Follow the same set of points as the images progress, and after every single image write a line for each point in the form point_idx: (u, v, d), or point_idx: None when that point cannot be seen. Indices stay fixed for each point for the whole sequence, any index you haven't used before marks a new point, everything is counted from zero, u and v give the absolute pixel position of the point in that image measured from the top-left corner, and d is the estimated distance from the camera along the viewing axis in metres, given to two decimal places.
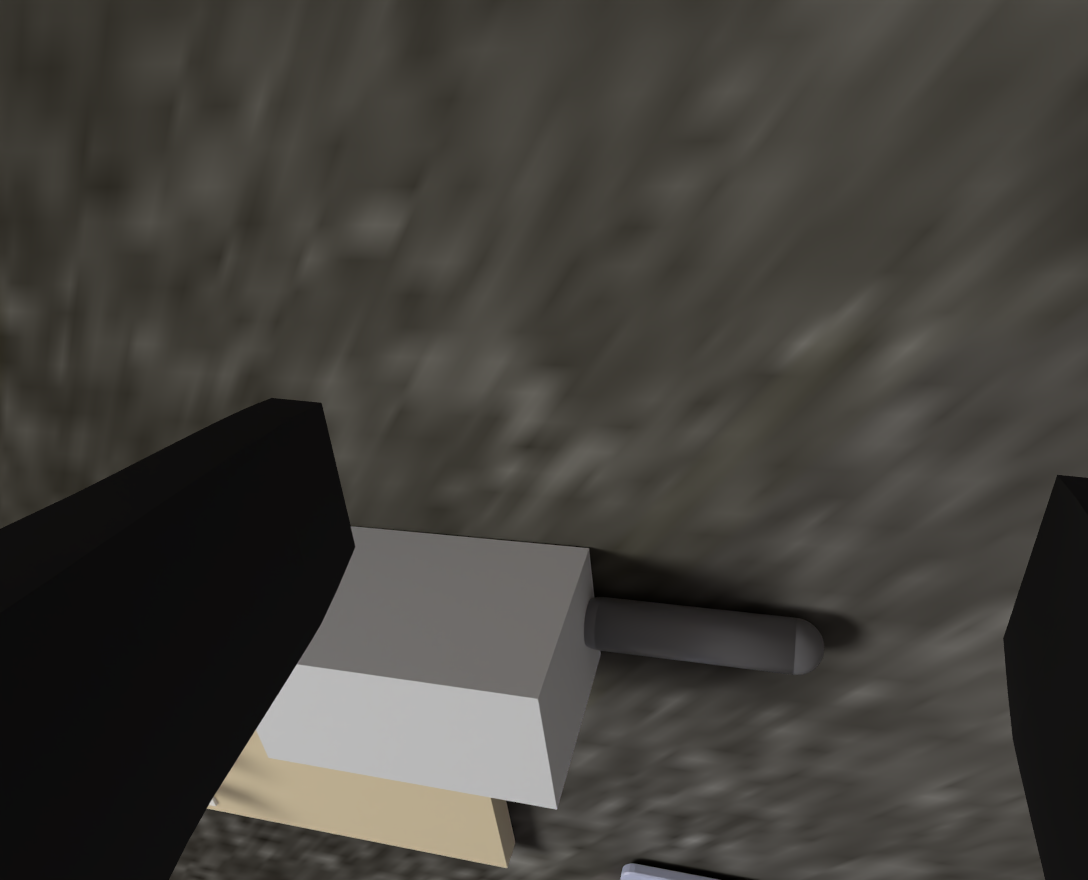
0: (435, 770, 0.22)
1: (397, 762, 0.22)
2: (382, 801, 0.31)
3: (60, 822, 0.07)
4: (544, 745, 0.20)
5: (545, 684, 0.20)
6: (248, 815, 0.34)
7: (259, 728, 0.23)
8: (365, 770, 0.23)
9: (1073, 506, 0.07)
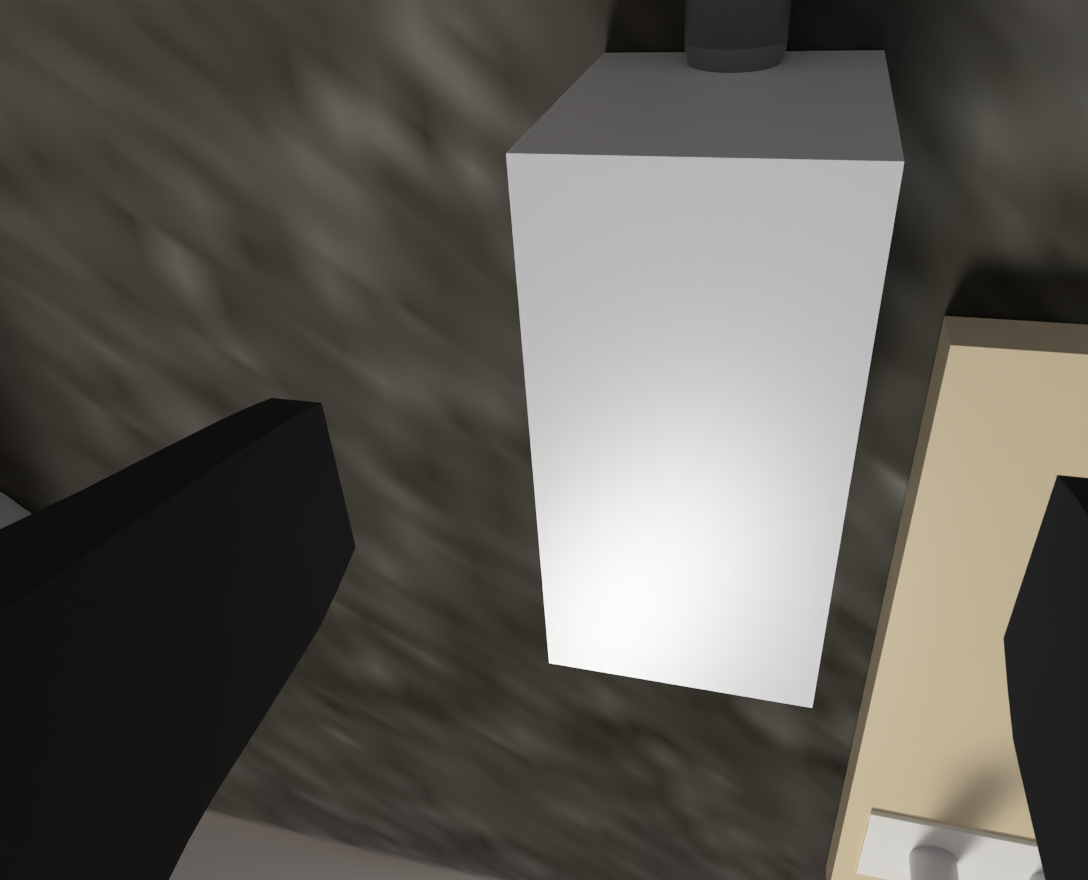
0: (791, 419, 0.10)
1: (781, 488, 0.11)
2: None
3: (60, 822, 0.07)
4: (654, 160, 0.09)
5: (536, 137, 0.10)
6: None
7: (726, 687, 0.13)
8: (822, 558, 0.11)
9: (1073, 506, 0.07)
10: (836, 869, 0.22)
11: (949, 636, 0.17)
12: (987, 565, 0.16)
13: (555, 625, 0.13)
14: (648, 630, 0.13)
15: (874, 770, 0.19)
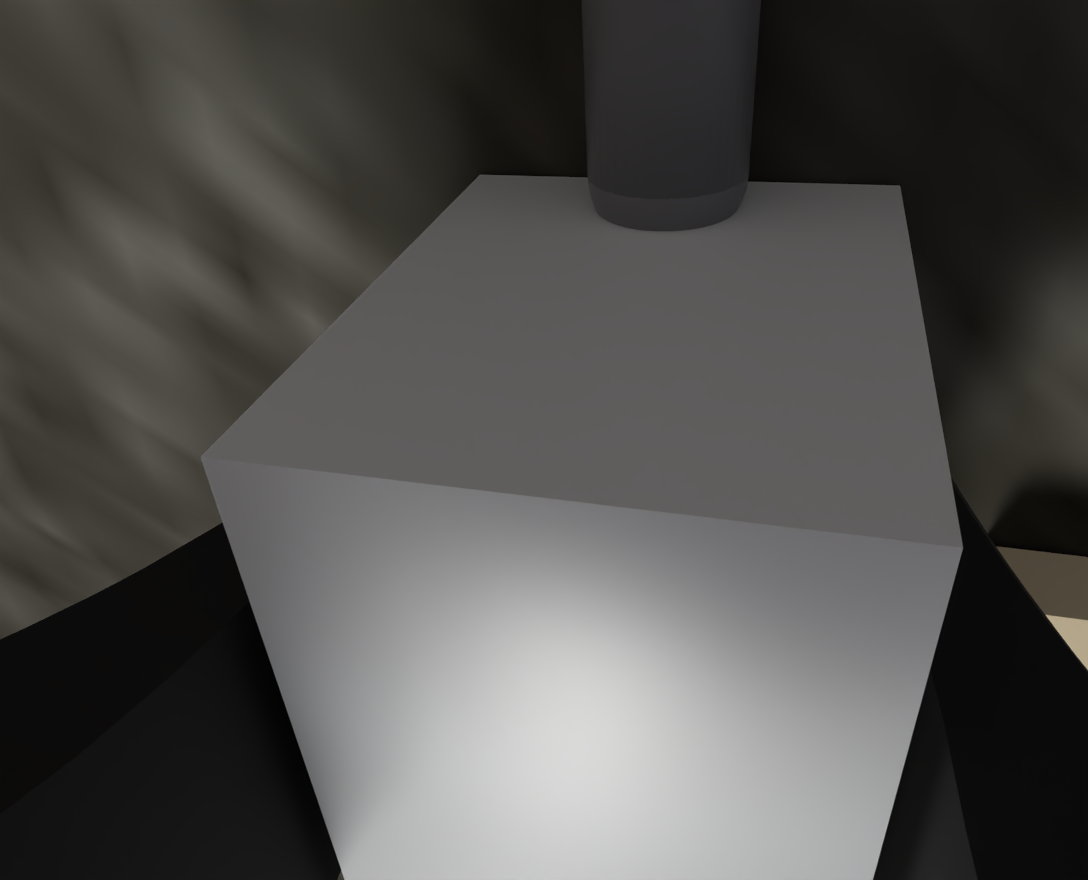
0: (748, 876, 0.06)
1: None
2: None
3: (240, 867, 0.06)
4: (467, 495, 0.05)
5: (277, 408, 0.05)
6: None
7: None
8: None
9: None
10: None
11: None
12: None
13: None
14: None
15: None
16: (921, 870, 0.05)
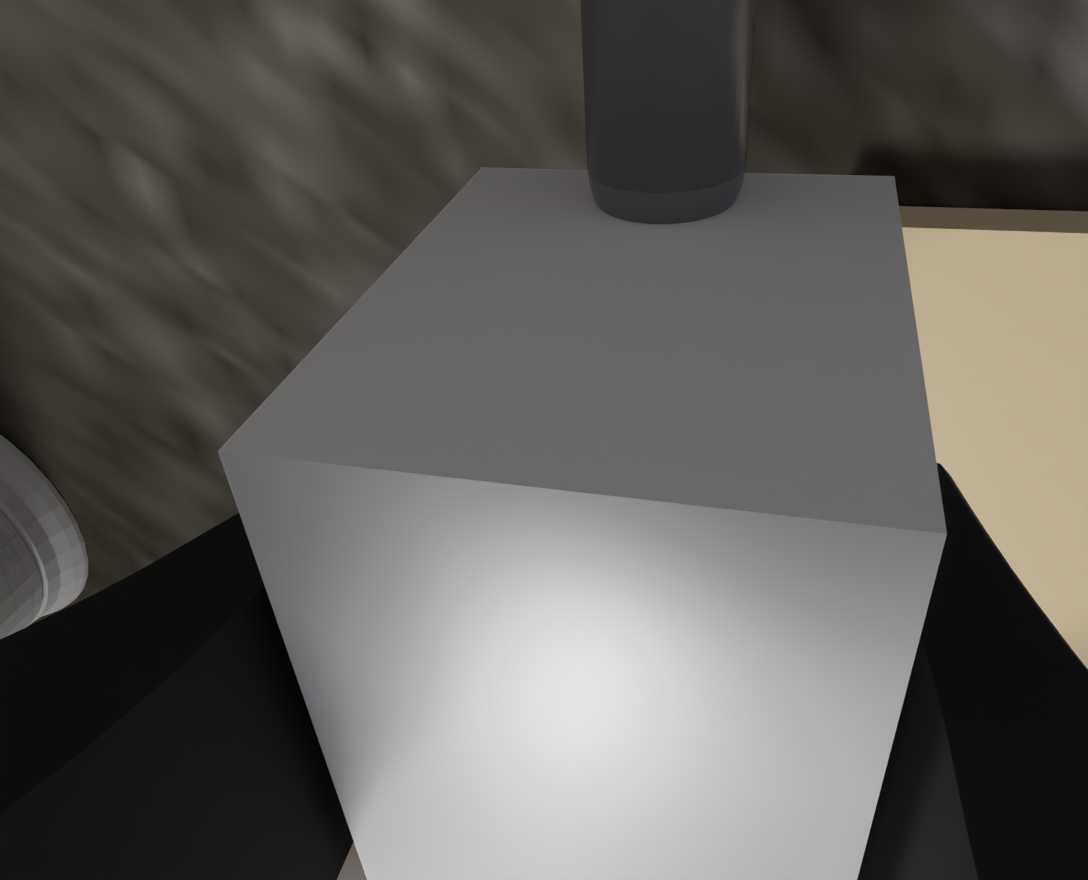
0: (746, 847, 0.06)
1: None
2: None
3: (240, 867, 0.06)
4: (472, 485, 0.05)
5: (289, 403, 0.06)
6: None
7: None
8: None
9: None
10: None
11: None
12: None
13: None
14: None
15: None
16: (921, 870, 0.05)
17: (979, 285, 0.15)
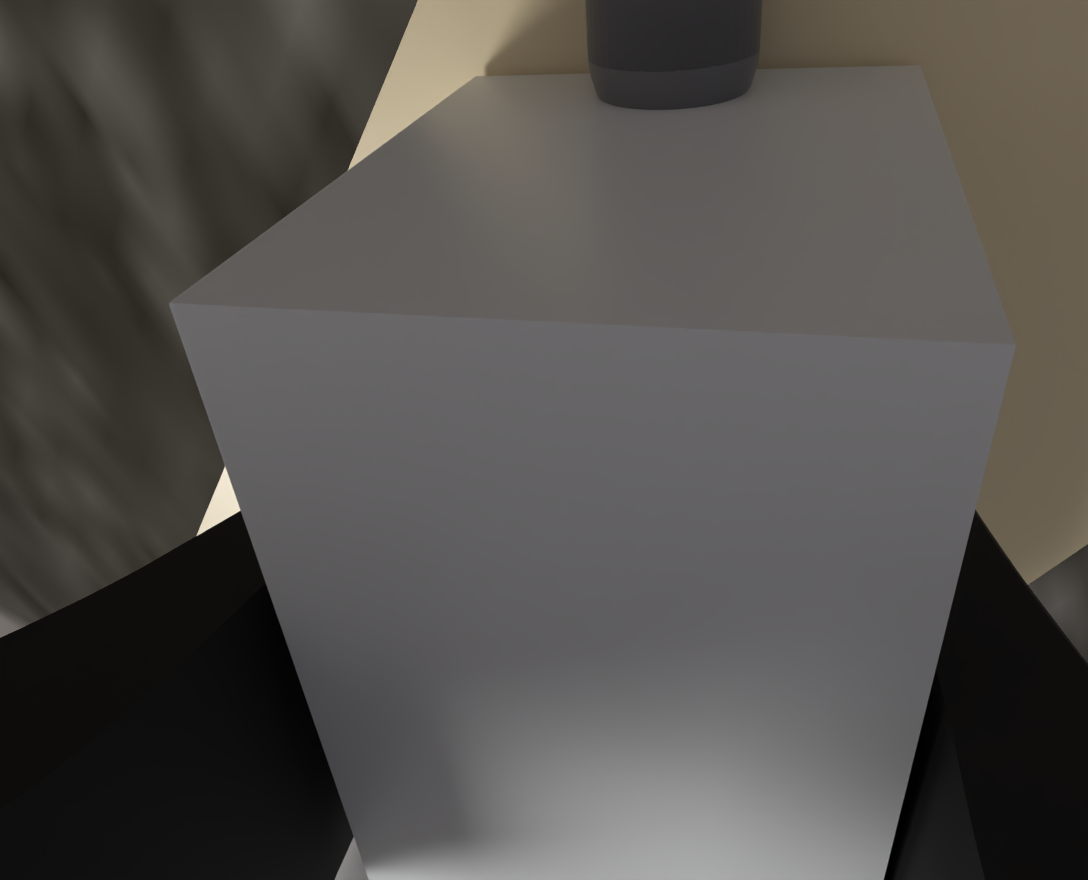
0: (774, 774, 0.05)
1: (758, 864, 0.06)
2: None
3: (238, 866, 0.06)
4: (457, 324, 0.04)
5: (256, 262, 0.05)
6: None
7: None
8: None
9: None
10: None
11: None
12: (575, 20, 0.08)
13: None
14: None
15: None
16: (927, 871, 0.05)
17: None
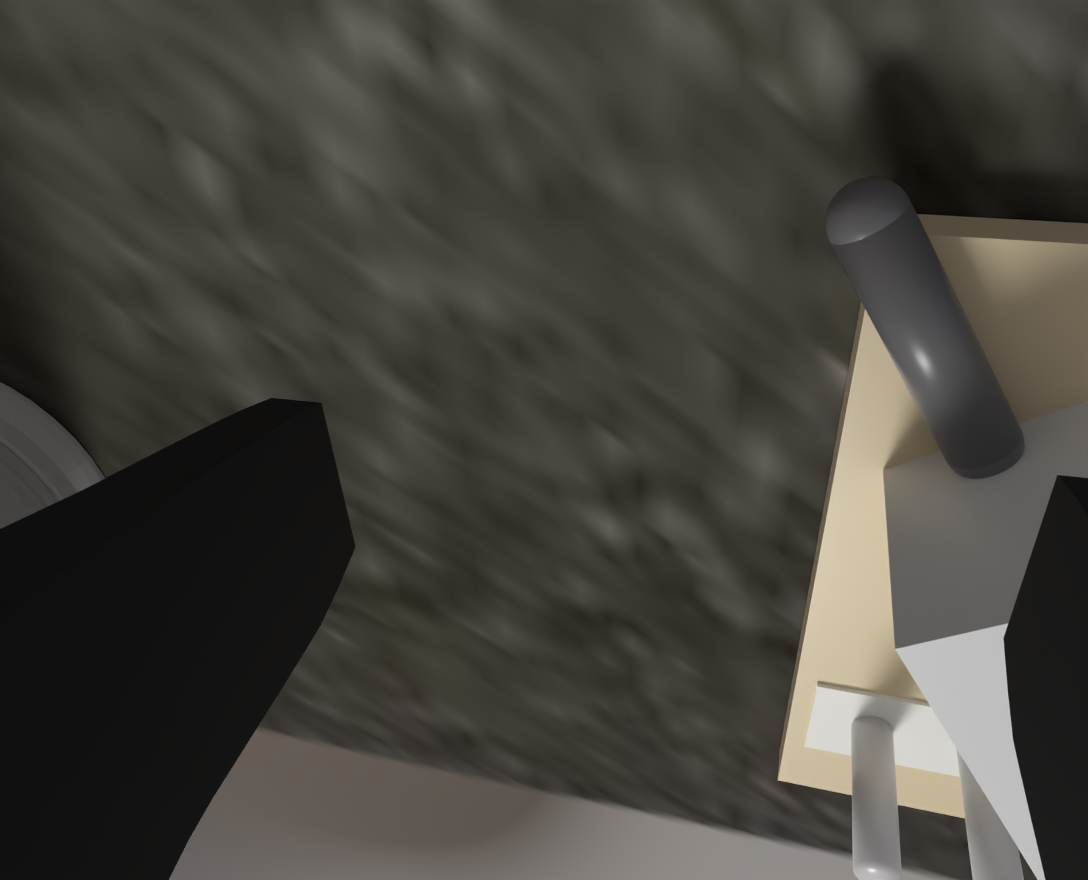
0: None
1: None
2: None
3: (60, 822, 0.07)
4: (999, 627, 0.14)
5: (904, 621, 0.15)
6: None
7: None
8: None
9: (1073, 506, 0.07)
10: (787, 744, 0.24)
11: (882, 508, 0.19)
12: (914, 439, 0.18)
13: None
14: None
15: (819, 643, 0.21)
16: None
17: (1005, 291, 0.16)
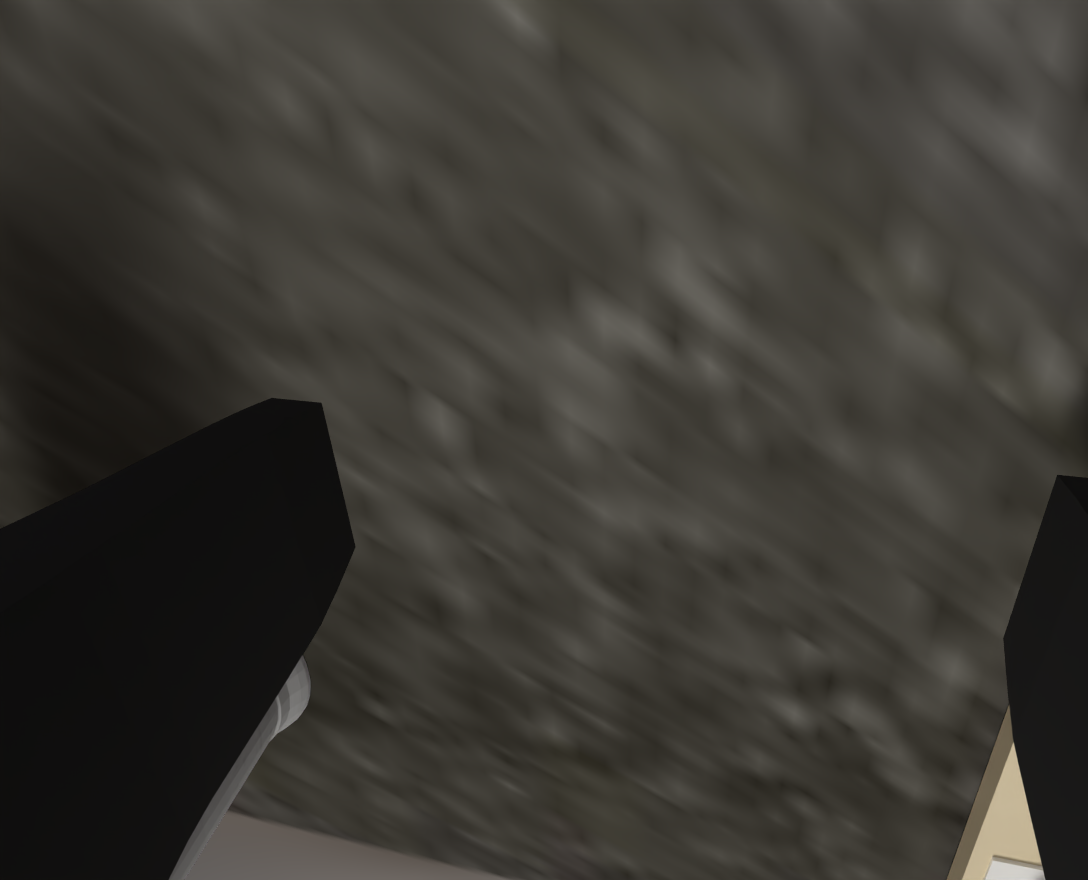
0: None
1: None
2: None
3: (60, 822, 0.07)
4: None
5: None
6: None
7: None
8: None
9: (1073, 506, 0.07)
10: None
11: None
12: None
13: None
14: None
15: (999, 825, 0.23)
16: None
17: None
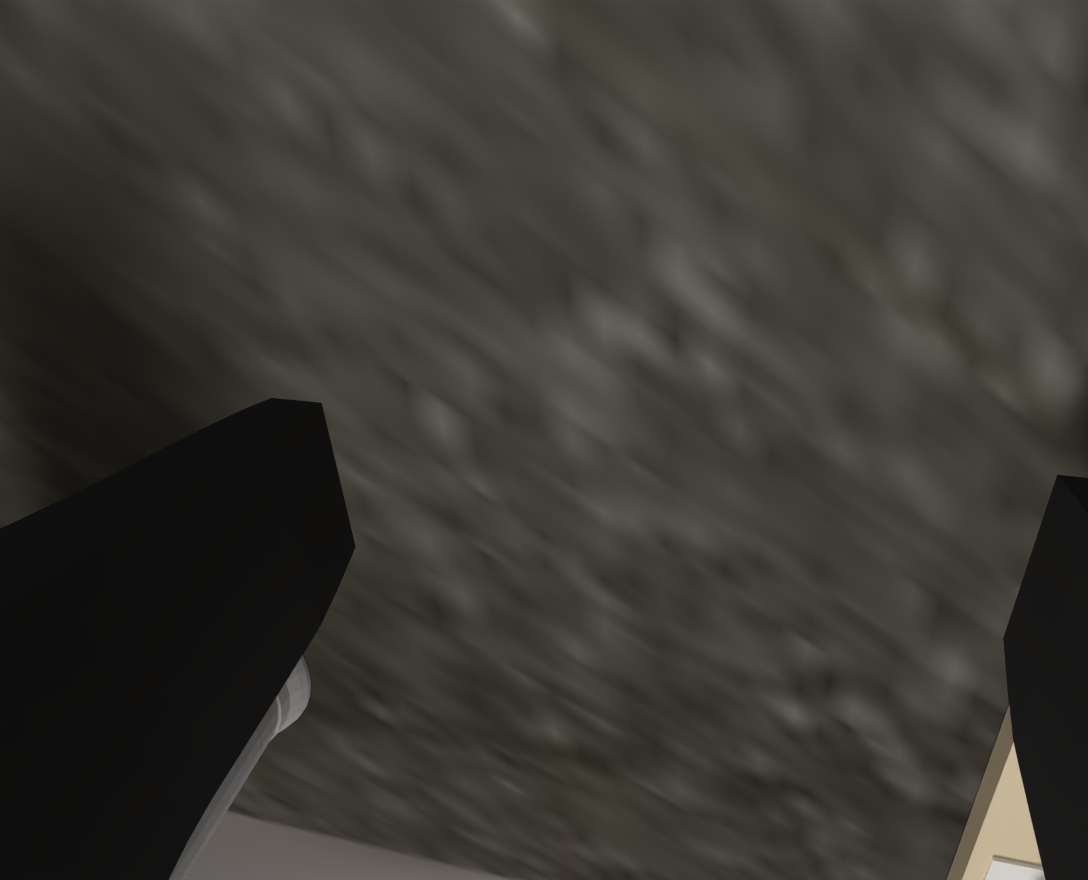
0: None
1: None
2: None
3: (60, 822, 0.07)
4: None
5: None
6: None
7: None
8: None
9: (1073, 506, 0.07)
10: None
11: None
12: None
13: None
14: None
15: (999, 825, 0.23)
16: None
17: None
